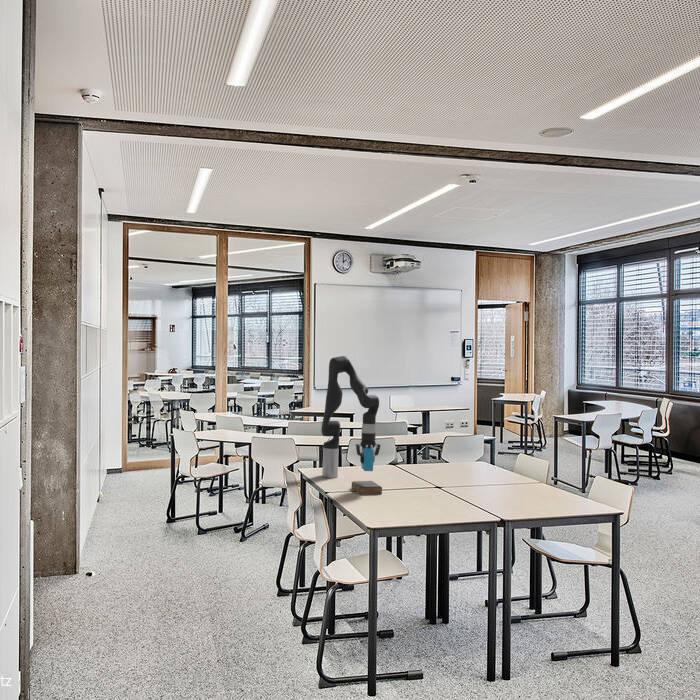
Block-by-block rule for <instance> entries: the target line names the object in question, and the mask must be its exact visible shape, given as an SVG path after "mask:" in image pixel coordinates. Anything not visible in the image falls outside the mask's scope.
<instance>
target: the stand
mask: <svg viewBox="0 0 700 700" xmlns="http://www.w3.org/2000/svg"><path fill="white" fill-rule="evenodd" d="M351 489H352V490H353V491H354V492H356V493H357V494H358V495H361V496H363V495H364V496H366V495H368V496H369V495H382V493H383V487H382V485H379V484H378V483H377V482H374V481H373V480H355V481H351Z"/></svg>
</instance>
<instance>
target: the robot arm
mask: <svg viewBox="0 0 700 700" xmlns="http://www.w3.org/2000/svg"><path fill="white" fill-rule="evenodd" d="M356 371H357V370H355V368H354V366H353V363H352V362H351V360H350V359H349V358H348V357H347V356H346V355H341V356H336V357H332V358H330V359H329V363H328V379H327V380H328V383H327V390H326V397H325V406H324V414H323V417H322V418H323V419H322V424H321V430H320V431H321V435H322V436H323V437H332V438H331V439H329V440H328V441H325V442H323V446H322V448H323V449H322V451H323V452H322V468H321V469H322V472H321V473H322V474H321V476H322V477H323V478H327V479H336V478H338V477H339V475H338V474H339V473H338V472H339V450H340V449H339V448H340V437H341V436H340V434H341V424H340V421H338V420H331V418H332V416H333V414H335V413H336V412H337V410H338V409H339V408H340V406H341V405H342V401H343V400H342V399H343V393H344V392H343V390H342V388H341V386H340V384H339V381H338V377H339V374H341V373H346V374H347V375H348V376H349V386H350V389H351V390H352V392H353V393H354V394H355V396H356V397H357V400H358V402H359V404H360V405H361V407H362V408H364V409H367V411H366V412H363V414H362V424H361V425H362V426H361V436H360V437H361V438H360V440H361V441H360V443H356V444H355V448H356V449H355V450H356V455H357V456H359V457H360V460H359V461H360V462H359V463H362V464H364V457H363V456H364V450H363V449H364V448H373V449H374V448H375V450H374V462H375V458H376V456H379V453H380V450H381V449H380V448H381V444H380V443H376V432H377V429H376V427H377V426H376V419H377V414H378V410H379V407H380V399H379V396H377V395H376V394H368V393H369V389H368V386H366V384H364V382H363V380H361V378H360V377H359V375H358V373H357V372H356Z"/></svg>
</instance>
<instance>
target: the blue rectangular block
mask: <svg viewBox="0 0 700 700" xmlns="http://www.w3.org/2000/svg"><path fill="white" fill-rule="evenodd" d="M363 450H364V456H363V457H364V464H362V463H361V462H360V463H361V465H360V466H361V469H362V471H364V472H373V471H374V463H375V461H374V453H375V450H374V448H364V449H363Z"/></svg>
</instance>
